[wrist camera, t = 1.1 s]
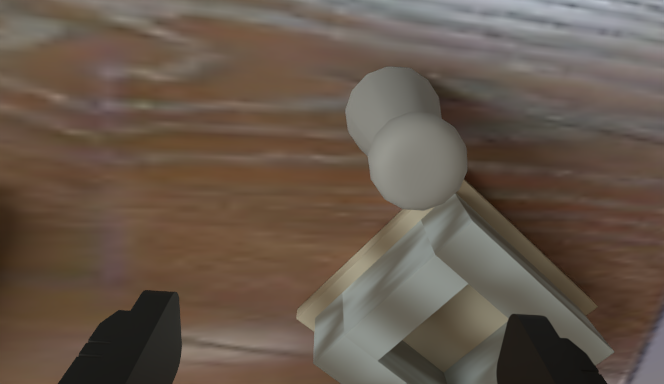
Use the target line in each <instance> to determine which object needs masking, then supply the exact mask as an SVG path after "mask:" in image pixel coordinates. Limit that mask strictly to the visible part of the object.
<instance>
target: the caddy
mask: <svg viewBox="0 0 664 384" xmlns="http://www.w3.org/2000/svg"><path fill="white" fill-rule="evenodd" d="M596 308H597V305H596V304H595V303H594V302H593V301H592V300H591V298H590V297H589V296H588V295H586V294H585V293H584V292H583V291H582V290H581V289H580V288H579V287H578V286H577V285H576V284H575V283H574V282H573V281H572V280H571V279H570V278H569V277H567V276H566V275H565V274H564V273H563V272H562V271H561V270H560V269H559V268H558V267H557V266H556V265H555V264H554V263H553V262H552V261H551V260H550V259H549V258H547V257H546V256H545V255H544V254H543V253H542V252H541V251H540V250H539V249H538V248H537V247H536V246H535V245H534V244H533V243H532V242H531V241H530V240H528V239H527V238H526V237H525V236H524V235H523V234H522V233H521V232H520V231H519V230H518V229H517V228H516V227H515V226H514V225H513V224H512V223H511V222H510V221H508V220H507V219H506V218H505V217H504V216H503V215H502V214H501V213H500V212H499V211H498V210H497V209H496V208H495V207H494V206H493V205H492V204H491V203H489V202H488V201H487V200H486V199H485V198H484V197H483V196H482V195H481V194H480V193H479V192H478V191H477V190H476V189H475V188H474V187H473V186H472V185H470V184H469V183H468V182H467V181H466V180H465V179H464V180H463V182H462V185H461V187H460V189H459V190H458V191H457V192H456V193H455V194H454V195H453V196H452V197H450V198H449V199H448V200H447V201H446V202H445V203H444V204H441V205H438V206H436V207H433V208H430V209H427V210H425V211H420V210H408V209H403V210H402V211H401V212H399V213H398V214H397V215H396V216H395V217H394V218H393V219H392V220H391V221H390V222H389V223H388V224H387V225H386V226H385V227H384V228H383V229H382V230H380V231H379V232H378V233H377V234H376V235H375V236H374V237H373V238H372V239H371V240H370V241H369V242H368V243H367V244H366V245H365V246H364V247H363V248H361V249H360V250H359V251H358V252H357V253H356V254H355V255H354V256H353V257H352V258H351V259H350V260H349V261H348V262H347V263H346V264H345V265H344V266H342V267H341V268H340V269H339V270H338V271H337V272H336V273H335V274H334V275H333V276H332V277H331V278H330V279H329V280H328V281H327V282H326V283H325V284H324V285H322V286H321V287H320V288H319V289H318V290H317V291H316V292H315V293H314V294H313V295H312V296H311V297H310V298H309V299H308V300H307V301H306V302H305V303H303V304H302V305H301V306H300V307H299V308H298V309H297V318H296V319H298V320H299V321H300V322H302V323H303V324H304V325H306V326H307V327H308V328H310V329H311V330H312V331H314V332H315V334H314V357H313V364H315V365H316V366H317V367H319V368H320V369H322V370H323V371H324V372H326V373H327V374H329V375H330V376H331V377H333V378H334V379H335V380H337V381H338V382H340V383H341V384H497V377H496V369H497V362H498V358H499V354H500V350H501V346H502V342H503V338H504V334H505V330H506V326H507V322H508V319H509V317H510V315H511V314H526V315H543V316H545V317H547V318H548V320H549V321H550V323H551V324H552V326H553V328H554V329H555V331H556V332H557V334H558V335H559V337H560V338H568V339H569V340H570V341H572V342H573V343H574V344H575V345H577V346H578V347H579V348H580V349H581V350H583V351H584V352H585V353H586V354H587V355H588V356H589V358H590V359H591V361H592V362H593V364H594V365H595V366H596V365H597V364H599V363H600V362H601V361H603V360H604V359H606V358H607V357H608V356H610V355H611V354H612V353H614V351H613V350H612V348H611V347H610V346H609V345H608V343H607V342H606V341H605V340H604V338H603V337H602V336H601V335H600V333H599V332H598V331H597V330H596V328H595V327H594V326H593V325H592V323H591V322H590V321H589V320H588V318H587V317H586V315H588V314H589V313H590V312H592V311H593V310H594V309H596Z"/></svg>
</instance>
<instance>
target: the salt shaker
mask: <svg viewBox="0 0 664 384" xmlns="http://www.w3.org/2000/svg"><path fill="white" fill-rule="evenodd" d="M345 112H346V119H347V126H348V132H349V133H350V135H351V136H352V138H353V139H354V141H355V142H356V144H357V145H358V147H359V148H360V149H361V150H362V151H363V152H364V153H365V154H366V155H367V156H368V161H369V168H370V175H371V180H372V181H373V183H374V184H375V186H376V187H377V189H378V190H379V192H380V193H381V195H382V196H383V197H384V198H385V200H387V201H389V202H391V203H393V204H395V205H396V206H398V207H400V208H402V209H408V210H420V211H425V210H427V209H430V208H433V207H436V206H438V205H441V204H444V203H445V202H446V201H447V200H448V199H449V198H450V197H452V196H453V195H454V194H455V193H456V192H457V191H458V190H459V189H460V187H461V185H462V182H463V180H464V177H465V175H466V173H467V149H466V145H465V144H464V142H463V140H462V139H461V137H460V135H459V134H458V132H457V130H456V129H455V127H454V126H452V125H451V124H449V123H447V122H446V121H444V120H443V119H442V118H441V110H440V102H439V97H438V95H437V94H436V92H435V90H434V89H433V87H432V86H431V84H430V82H429V81H428V79H426V78H425V77H423V76H421V75H420V74H418V73H417V72H415V71H414V70H412V69H411V68H403V67H385V68H383V69H380V70H377V71H375V72H372V73H369V74H367V75H366V76H365V77H364V78H363V79H362V80H361V81H360V83H359V84H358V85H357V86H356V87H355V88H354V89H353V90H352V92H351V95H350V98H349V101H348V104H347V107H346V110H345Z"/></svg>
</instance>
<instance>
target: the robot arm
mask: <svg viewBox="0 0 664 384" xmlns="http://www.w3.org/2000/svg"><path fill="white" fill-rule="evenodd" d="M181 349H182V341H181V324H180V306H179V296H178V293H177V292H167V291H151V290H145V291H143V292H142V294H141V295H140V297H139V298H138V300H137V301H136V303H135V305H134V306H133V308H132V309H131V311H124V310H118V311H117V312H115V313H114V314H112V315H111V316H110V317H108V318H107V319H105V320H104V321H103V322H101V323H100V324H99V325H98V327H97V328H96V330H95V331H94V333H93V334H92V336H91V337H90V338H89V341H88V343H86V344H85V346H84V347H83V348H82V350H81V351H80V353H79V357H76V358H75V360H74V361H73V363H72V364H71V366H70V367H69V368H68V370H67V371H66V373H65V374H64V376H63V377H62V379H61V380H60V381H59V383H58V384H172V383H173V380H174V378H175V375H176V373H177V370H178V367H179V363H180V358H181ZM598 372H599V371H598V369H597V368H596V367H595V365H594V364H593V362H592V361H591V359H590V358H589V356H588V355H587V354H586V353H585V352H584V351H583V350H581V349H580V348H579V347H578V346H577V345H575V344H574V343H573V342H572V341H570V340H569V339H568V338H560V337H559V335H558V334H557V332H556V331H555V329H554V328H553V326H552V324H551V323H550V321H549V320H548V318H547V317H545V316H543V315H526V314H511V315H510V317H509V319H508V322H507V326H506V330H505V334H504V338H503V342H502V346H501V350H500V354H499V358H498V362H497V369H496V377H497V384H607V383H606V381H605V380H604V378H603V377H602V375H600V374H599V373H598Z"/></svg>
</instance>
